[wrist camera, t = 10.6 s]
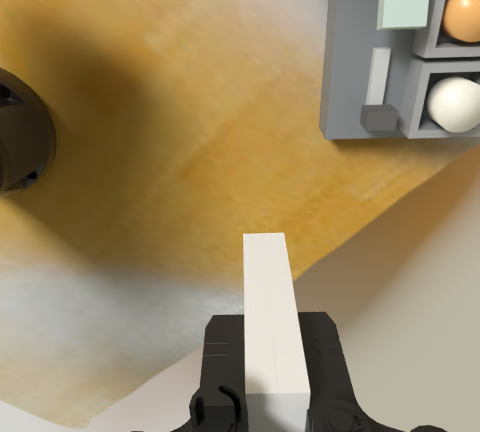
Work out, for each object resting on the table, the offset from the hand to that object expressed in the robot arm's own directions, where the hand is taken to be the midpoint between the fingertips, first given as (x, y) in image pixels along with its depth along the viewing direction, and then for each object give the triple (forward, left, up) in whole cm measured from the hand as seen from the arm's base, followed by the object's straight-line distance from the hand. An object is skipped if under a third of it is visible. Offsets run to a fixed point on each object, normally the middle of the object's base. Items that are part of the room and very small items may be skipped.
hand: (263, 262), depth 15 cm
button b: (+19, +6, -28) cm, 34 cm away
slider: (+12, -3, -27) cm, 30 cm away
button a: (+19, -1, -26) cm, 32 cm away
